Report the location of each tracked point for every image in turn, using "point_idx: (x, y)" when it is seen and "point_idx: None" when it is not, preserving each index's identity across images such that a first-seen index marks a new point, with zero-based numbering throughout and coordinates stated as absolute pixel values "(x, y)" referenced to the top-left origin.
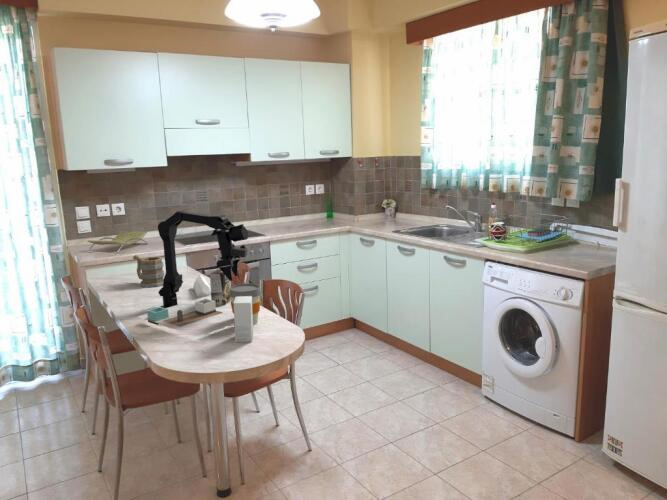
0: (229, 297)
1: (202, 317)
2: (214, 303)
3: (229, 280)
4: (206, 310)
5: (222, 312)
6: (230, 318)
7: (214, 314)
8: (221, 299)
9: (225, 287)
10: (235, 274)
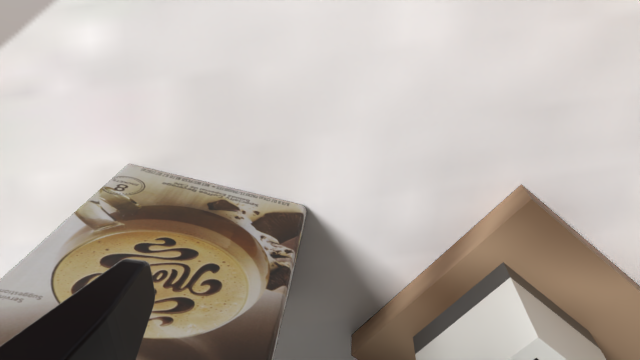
0: (160, 207)
1: (633, 340)
2: (538, 325)
3: (17, 326)
4: (591, 349)
5: (530, 205)
6: (623, 109)
7: (575, 264)
8: (291, 274)
9: (214, 318)
10: (135, 325)
